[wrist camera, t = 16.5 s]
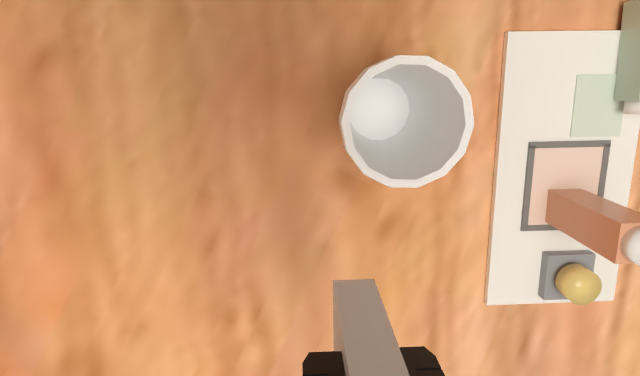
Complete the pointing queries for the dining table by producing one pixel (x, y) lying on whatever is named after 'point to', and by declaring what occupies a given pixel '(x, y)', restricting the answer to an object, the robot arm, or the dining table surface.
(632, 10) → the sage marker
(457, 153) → the foam cup
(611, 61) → the white flat panel
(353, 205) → the dining table surface
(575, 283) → the button
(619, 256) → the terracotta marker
